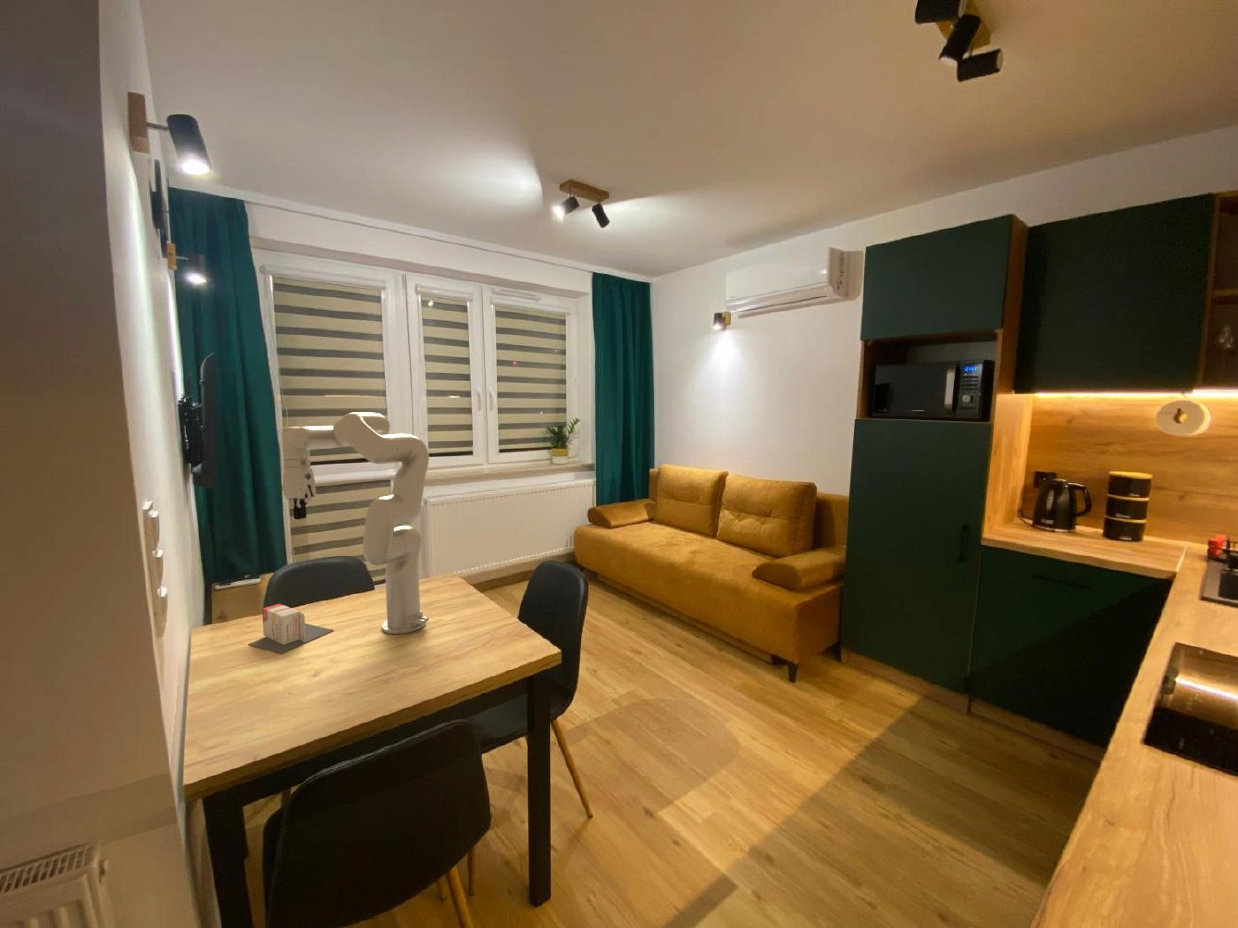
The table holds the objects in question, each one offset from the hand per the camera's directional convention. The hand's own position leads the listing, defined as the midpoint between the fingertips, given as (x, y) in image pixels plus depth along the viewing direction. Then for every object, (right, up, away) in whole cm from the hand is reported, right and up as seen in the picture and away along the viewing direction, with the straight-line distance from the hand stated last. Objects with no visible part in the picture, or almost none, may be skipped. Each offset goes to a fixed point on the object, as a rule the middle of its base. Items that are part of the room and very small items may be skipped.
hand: (300, 518), depth 166 cm
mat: (+10, -33, -19) cm, 40 cm away
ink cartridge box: (+2, -28, -17) cm, 33 cm away
